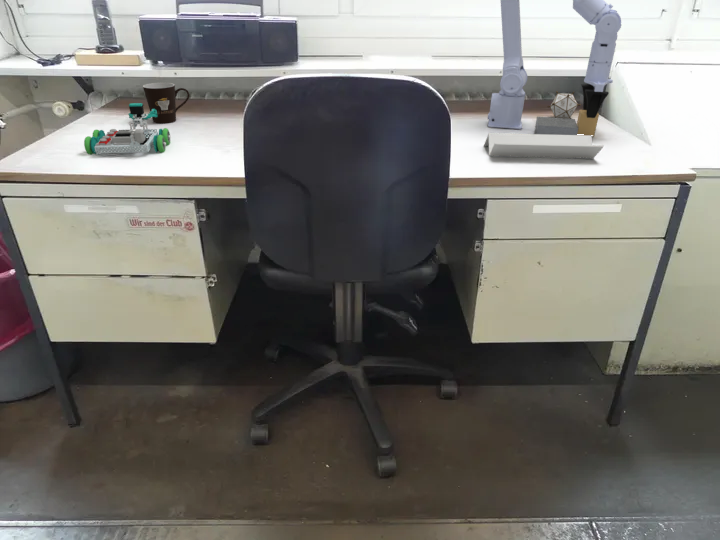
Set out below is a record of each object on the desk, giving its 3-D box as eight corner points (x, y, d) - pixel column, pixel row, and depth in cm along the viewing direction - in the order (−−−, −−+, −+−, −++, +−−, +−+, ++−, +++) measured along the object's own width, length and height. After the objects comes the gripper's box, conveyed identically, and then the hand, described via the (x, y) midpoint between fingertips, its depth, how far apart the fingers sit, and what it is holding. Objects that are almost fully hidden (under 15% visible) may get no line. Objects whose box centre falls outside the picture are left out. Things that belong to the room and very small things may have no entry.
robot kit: (180, 131, 148) (175, 96, 143) (163, 158, 126) (156, 118, 122) (111, 132, 146) (103, 97, 141) (80, 160, 124) (70, 120, 119)
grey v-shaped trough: (484, 167, 136) (483, 145, 137) (583, 170, 135) (581, 147, 136) (494, 144, 124) (493, 120, 125) (603, 146, 123) (601, 122, 125)
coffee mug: (145, 124, 152) (138, 88, 147) (154, 117, 159) (148, 82, 154) (186, 124, 152) (180, 88, 147) (193, 117, 160) (188, 82, 155)
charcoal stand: (535, 140, 142) (538, 125, 140) (534, 130, 150) (536, 116, 148) (575, 143, 140) (578, 128, 138) (571, 133, 148) (574, 119, 146)
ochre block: (576, 135, 147) (581, 113, 144) (575, 131, 151) (579, 109, 148) (594, 136, 146) (599, 114, 143) (591, 132, 150) (596, 110, 147)
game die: (561, 129, 166) (581, 102, 165) (569, 126, 158) (591, 97, 156) (538, 113, 166) (558, 85, 164) (545, 109, 158) (566, 79, 156)
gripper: (621, 66, 132) (608, 121, 139) (612, 58, 145) (600, 109, 151) (591, 65, 134) (580, 119, 140) (584, 57, 146) (574, 107, 153)
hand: (589, 114), depth 146 cm, fingers open, 7 cm apart
